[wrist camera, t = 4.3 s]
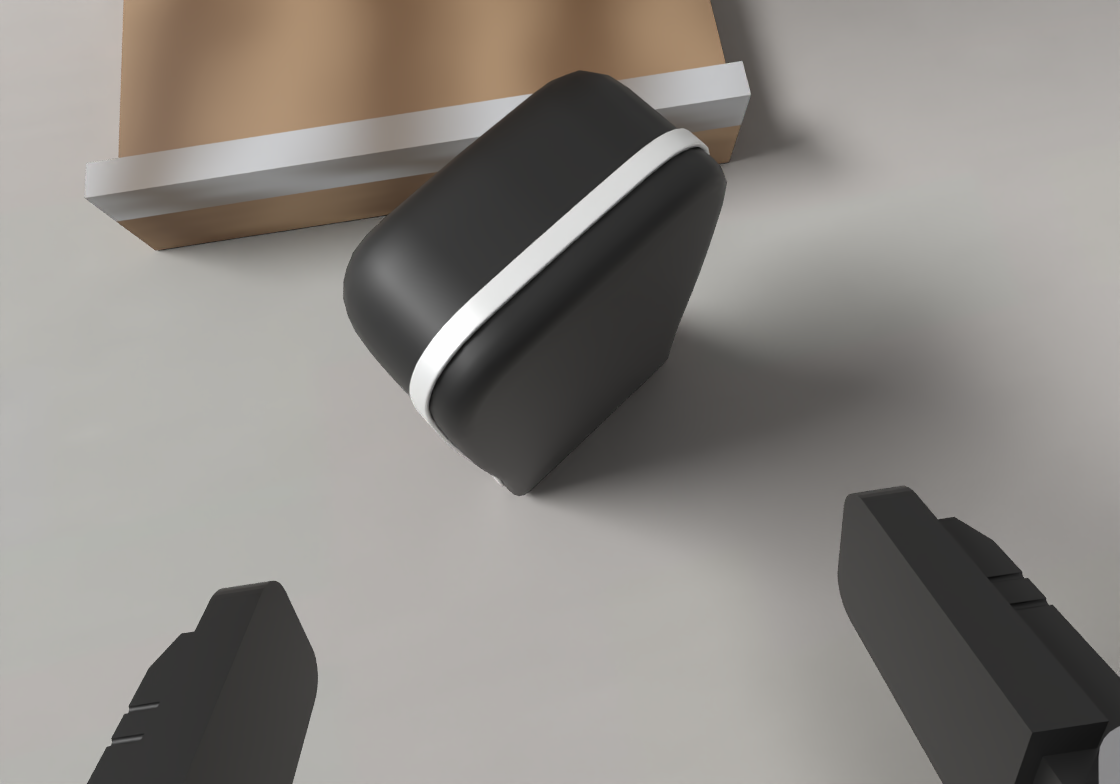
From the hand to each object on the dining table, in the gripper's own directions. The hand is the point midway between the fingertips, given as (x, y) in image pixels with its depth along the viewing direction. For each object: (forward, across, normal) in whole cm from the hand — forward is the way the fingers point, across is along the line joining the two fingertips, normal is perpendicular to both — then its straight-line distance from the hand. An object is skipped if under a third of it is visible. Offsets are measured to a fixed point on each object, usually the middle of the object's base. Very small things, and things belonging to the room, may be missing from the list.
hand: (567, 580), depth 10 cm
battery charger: (+12, 0, +4) cm, 12 cm away
